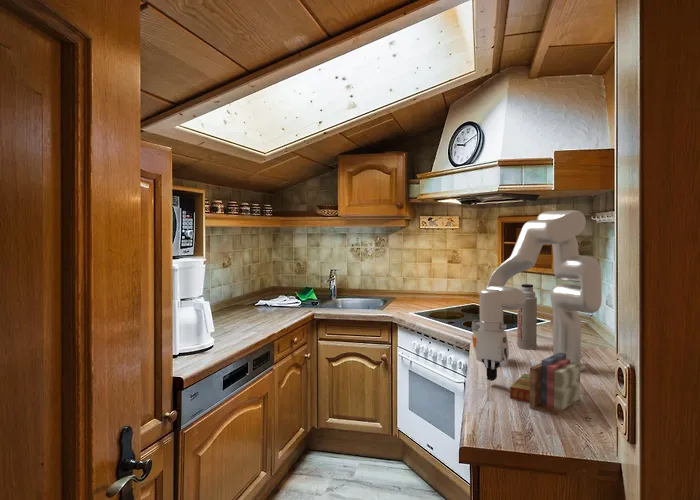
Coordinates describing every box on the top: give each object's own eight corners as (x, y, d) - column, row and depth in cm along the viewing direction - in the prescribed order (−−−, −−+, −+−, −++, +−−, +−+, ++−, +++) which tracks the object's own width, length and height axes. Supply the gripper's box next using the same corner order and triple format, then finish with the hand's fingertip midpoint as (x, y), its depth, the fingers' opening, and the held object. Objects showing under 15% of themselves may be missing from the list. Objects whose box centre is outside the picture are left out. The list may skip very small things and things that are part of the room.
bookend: (556, 392, 143) (557, 350, 142) (582, 399, 137) (583, 355, 136) (529, 408, 131) (529, 361, 130) (556, 416, 125) (556, 367, 124)
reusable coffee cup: (472, 353, 188) (472, 318, 187) (503, 356, 184) (504, 320, 183) (470, 362, 176) (470, 324, 175) (503, 365, 172) (504, 326, 171)
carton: (509, 399, 139) (509, 385, 138) (523, 384, 152) (523, 372, 151) (537, 405, 134) (537, 391, 134) (549, 389, 147) (549, 376, 146)
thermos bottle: (520, 349, 193) (521, 285, 192) (514, 344, 201) (515, 283, 200) (539, 349, 193) (539, 285, 192) (532, 344, 201) (533, 283, 200)
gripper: (517, 327, 146) (518, 382, 147) (478, 321, 158) (478, 371, 159) (506, 331, 141) (506, 388, 142) (465, 324, 153) (466, 376, 154)
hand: (491, 379), depth 151 cm, fingers closed
